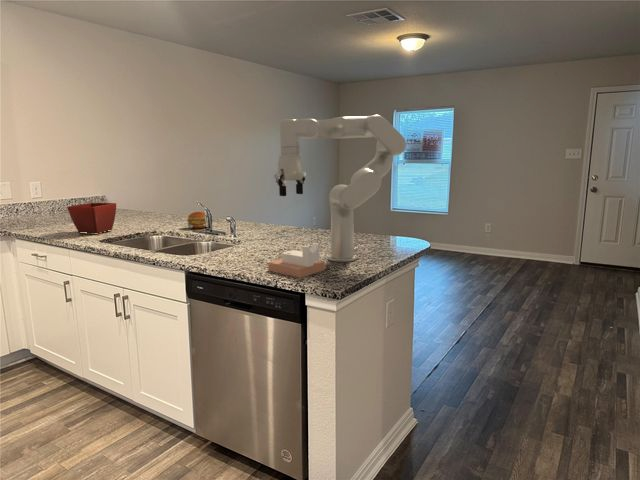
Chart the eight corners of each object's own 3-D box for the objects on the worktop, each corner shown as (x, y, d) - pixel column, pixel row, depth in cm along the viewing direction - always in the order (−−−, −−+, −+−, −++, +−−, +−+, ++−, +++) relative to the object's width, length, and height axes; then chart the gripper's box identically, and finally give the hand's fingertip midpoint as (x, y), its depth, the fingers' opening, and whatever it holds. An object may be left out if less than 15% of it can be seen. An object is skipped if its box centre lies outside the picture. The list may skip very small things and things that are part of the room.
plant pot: (69, 234, 259) (66, 206, 256) (94, 229, 277) (91, 202, 273) (96, 236, 253) (92, 206, 250) (120, 230, 271) (117, 203, 268)
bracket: (319, 263, 170) (319, 243, 169) (308, 266, 165) (307, 247, 163) (293, 258, 178) (293, 240, 177) (281, 262, 173) (281, 243, 171)
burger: (214, 227, 279) (213, 211, 277) (198, 230, 268) (197, 214, 266) (199, 225, 286) (198, 210, 284) (182, 228, 275) (181, 212, 273)
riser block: (293, 265, 184) (293, 255, 183) (324, 271, 173) (324, 261, 172) (268, 272, 174) (268, 262, 173) (300, 279, 163) (300, 269, 162)
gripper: (298, 151, 184) (299, 192, 188) (267, 151, 171) (269, 196, 175) (311, 151, 180) (312, 193, 183) (281, 151, 167) (282, 197, 170)
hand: (291, 194), depth 179 cm, fingers open, 9 cm apart
